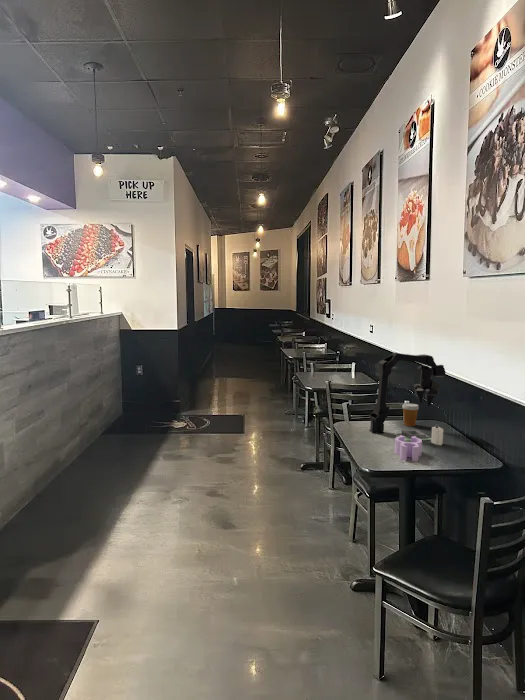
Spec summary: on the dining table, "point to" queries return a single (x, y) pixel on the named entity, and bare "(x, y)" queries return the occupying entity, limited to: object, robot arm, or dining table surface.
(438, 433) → the keyed plug
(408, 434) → the header socket
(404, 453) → the clip
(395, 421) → the dining table surface
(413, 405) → the disposable coffee cup
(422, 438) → the circuit board
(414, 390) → the robot arm
